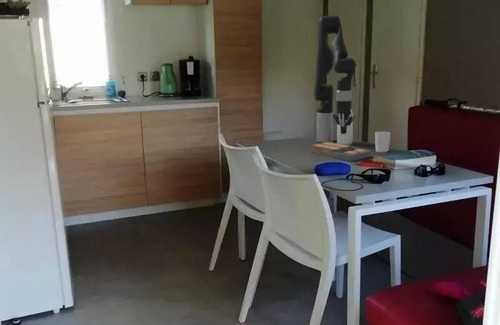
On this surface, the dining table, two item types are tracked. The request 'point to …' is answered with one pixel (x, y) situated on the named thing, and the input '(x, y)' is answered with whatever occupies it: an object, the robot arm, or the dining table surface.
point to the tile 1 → (350, 152)
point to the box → (352, 157)
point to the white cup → (382, 141)
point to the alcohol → (347, 137)
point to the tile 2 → (359, 150)
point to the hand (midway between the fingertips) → (343, 133)
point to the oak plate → (328, 148)
